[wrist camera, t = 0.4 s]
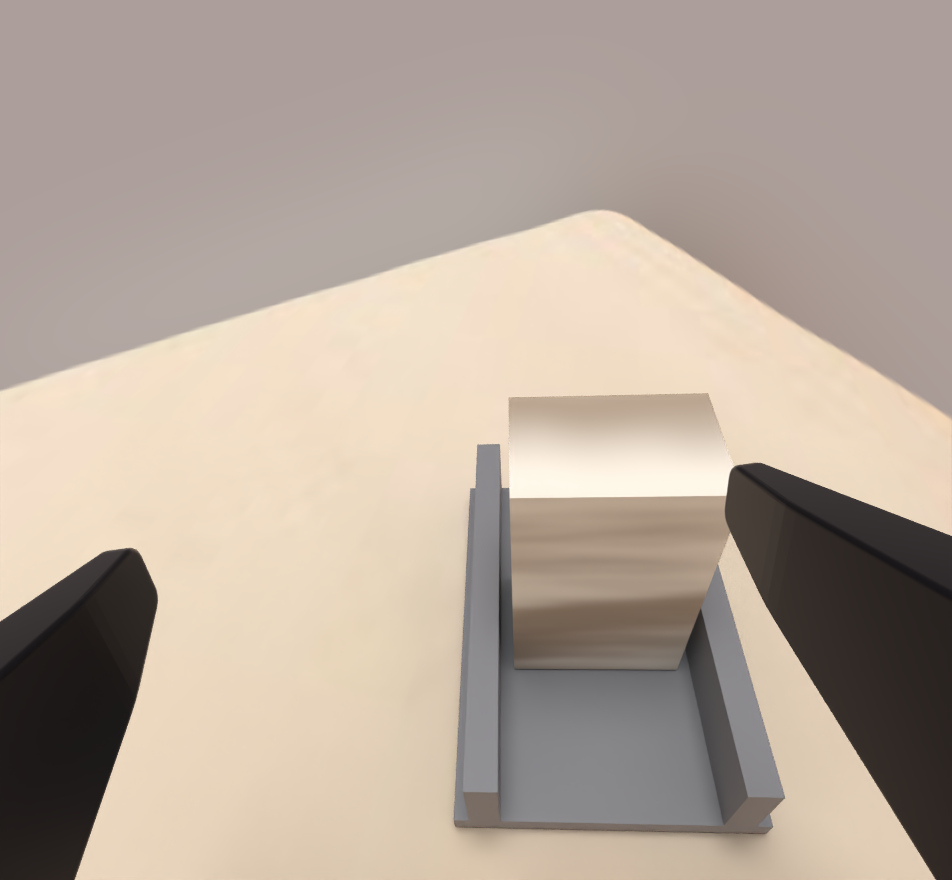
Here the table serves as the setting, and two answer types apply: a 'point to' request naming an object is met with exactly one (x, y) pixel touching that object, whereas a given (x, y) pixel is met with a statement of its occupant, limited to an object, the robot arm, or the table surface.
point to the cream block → (613, 527)
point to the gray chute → (601, 717)
